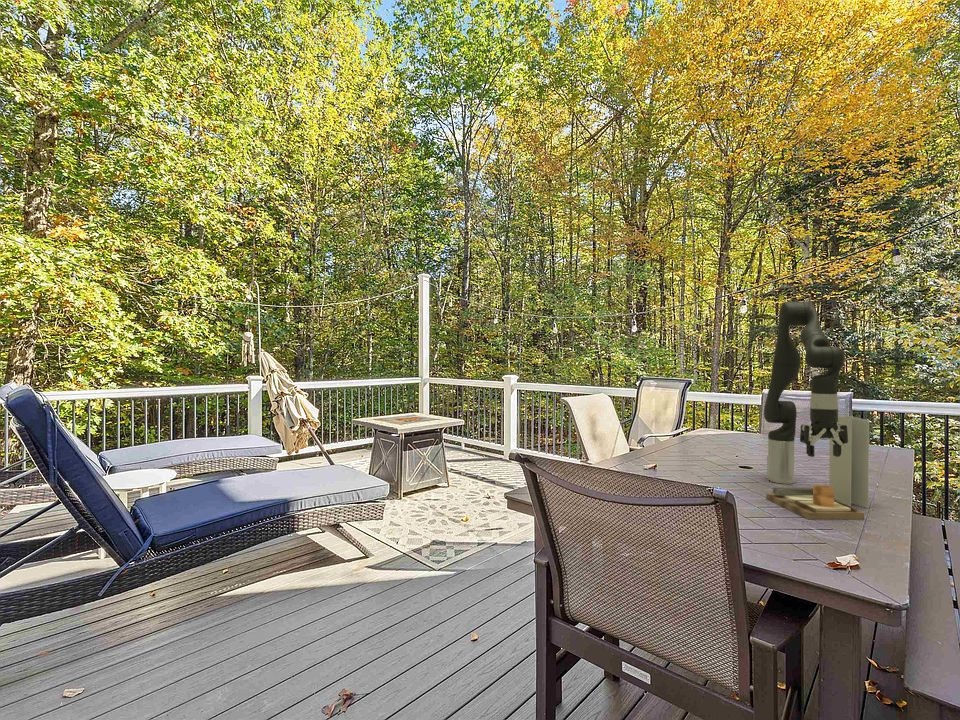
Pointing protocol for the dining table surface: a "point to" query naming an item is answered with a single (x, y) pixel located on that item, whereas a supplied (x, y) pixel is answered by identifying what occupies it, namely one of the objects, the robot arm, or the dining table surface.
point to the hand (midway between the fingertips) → (823, 456)
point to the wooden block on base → (824, 499)
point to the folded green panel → (851, 464)
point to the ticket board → (793, 495)
